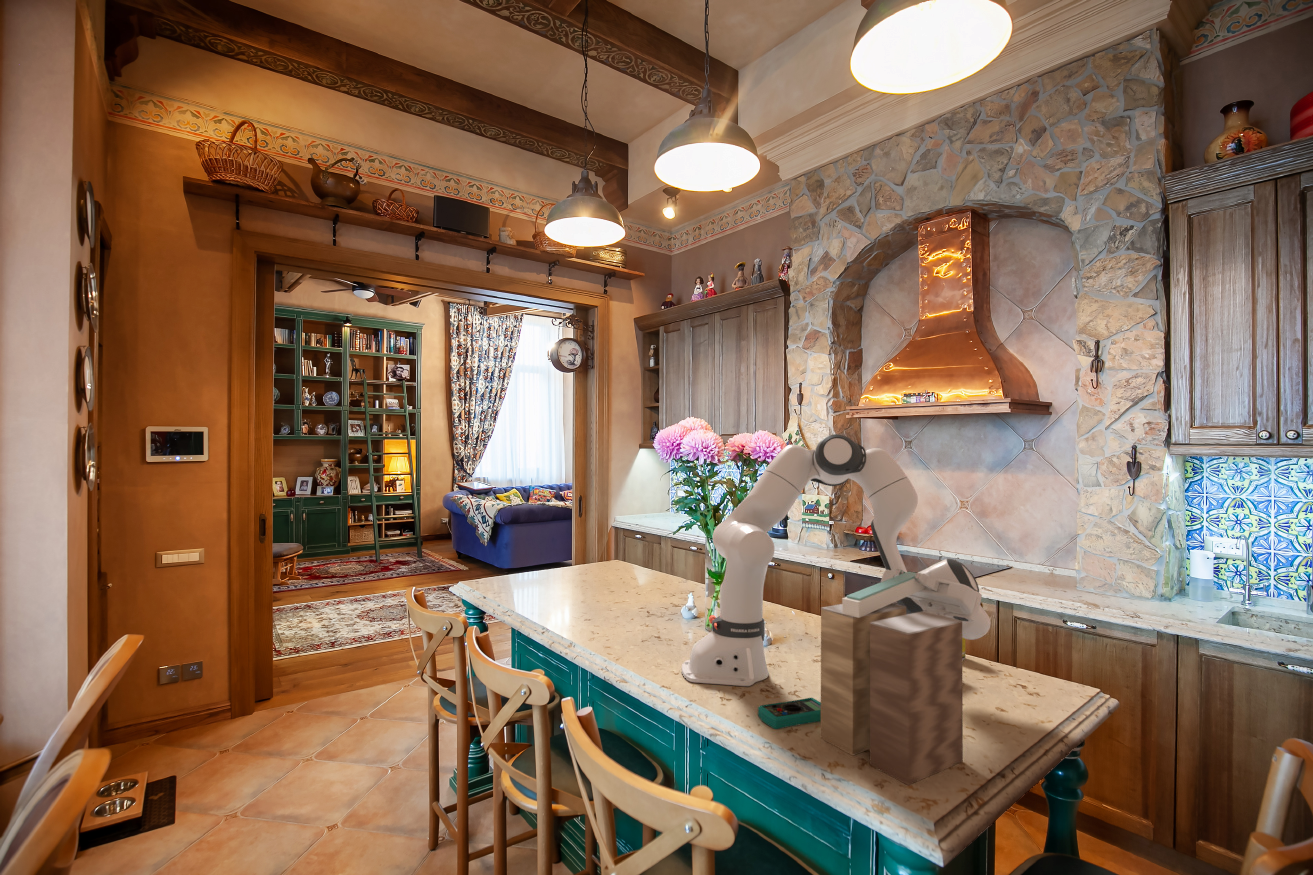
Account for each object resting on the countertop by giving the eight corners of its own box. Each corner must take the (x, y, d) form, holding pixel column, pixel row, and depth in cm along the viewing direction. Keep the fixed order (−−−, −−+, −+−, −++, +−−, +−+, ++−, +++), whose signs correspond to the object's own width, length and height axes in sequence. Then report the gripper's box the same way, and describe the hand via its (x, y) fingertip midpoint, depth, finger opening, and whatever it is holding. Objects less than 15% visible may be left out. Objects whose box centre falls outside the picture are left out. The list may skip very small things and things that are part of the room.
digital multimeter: (755, 717, 132) (755, 703, 132) (813, 708, 137) (813, 695, 137) (772, 732, 125) (773, 717, 125) (833, 721, 130) (833, 707, 130)
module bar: (909, 585, 134) (909, 570, 134) (925, 588, 131) (924, 572, 131) (842, 613, 117) (842, 596, 117) (858, 617, 115) (858, 599, 115)
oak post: (873, 720, 130) (873, 598, 130) (906, 735, 123) (906, 606, 124) (820, 737, 121) (821, 607, 122) (852, 755, 115) (852, 616, 115)
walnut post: (924, 743, 119) (923, 610, 120) (962, 761, 113) (962, 620, 113) (869, 764, 111) (870, 621, 112) (908, 785, 104) (907, 633, 105)
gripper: (905, 578, 146) (872, 553, 140) (989, 595, 129) (956, 568, 122) (897, 603, 144) (863, 579, 138) (981, 623, 127) (946, 597, 121)
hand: (907, 574), depth 130 cm, fingers closed on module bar, 4 cm apart
